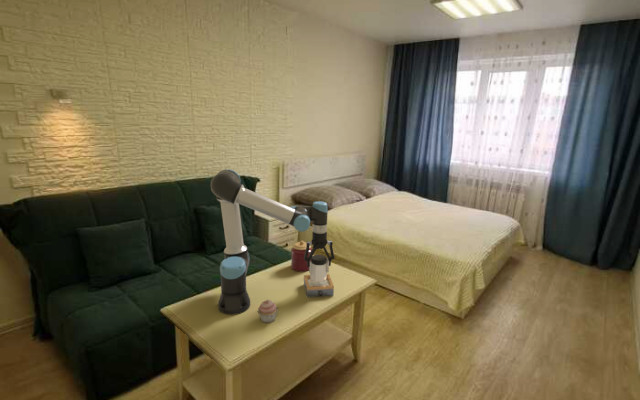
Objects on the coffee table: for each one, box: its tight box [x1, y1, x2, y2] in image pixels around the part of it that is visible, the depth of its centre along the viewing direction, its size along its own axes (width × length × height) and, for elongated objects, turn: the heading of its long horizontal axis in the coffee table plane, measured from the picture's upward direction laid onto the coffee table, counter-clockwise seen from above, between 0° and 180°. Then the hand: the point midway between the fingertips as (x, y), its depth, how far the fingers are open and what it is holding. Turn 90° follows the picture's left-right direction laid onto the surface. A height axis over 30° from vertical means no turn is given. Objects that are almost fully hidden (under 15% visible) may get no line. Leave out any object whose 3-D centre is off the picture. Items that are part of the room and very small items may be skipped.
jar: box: [309, 254, 328, 282], centre depth 176 cm, size 9×8×12 cm
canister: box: [290, 240, 313, 272], centre depth 203 cm, size 13×13×18 cm
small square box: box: [303, 273, 335, 298], centre depth 178 cm, size 14×15×6 cm
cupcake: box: [257, 299, 279, 324], centre depth 150 cm, size 9×9×10 cm
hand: (318, 271), depth 176 cm, fingers closed on jar, 9 cm apart
